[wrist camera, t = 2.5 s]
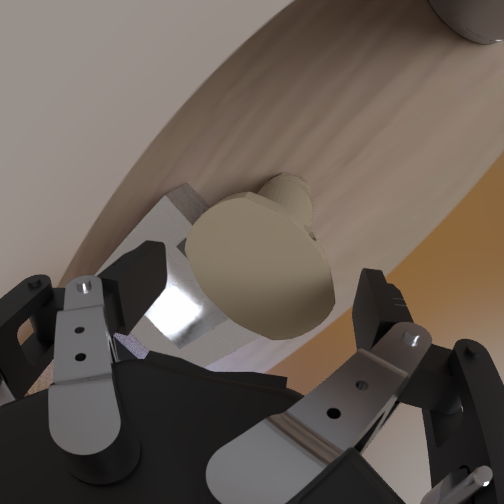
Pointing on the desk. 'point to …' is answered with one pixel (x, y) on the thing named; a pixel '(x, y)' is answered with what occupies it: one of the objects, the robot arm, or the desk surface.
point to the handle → (264, 259)
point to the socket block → (181, 289)
